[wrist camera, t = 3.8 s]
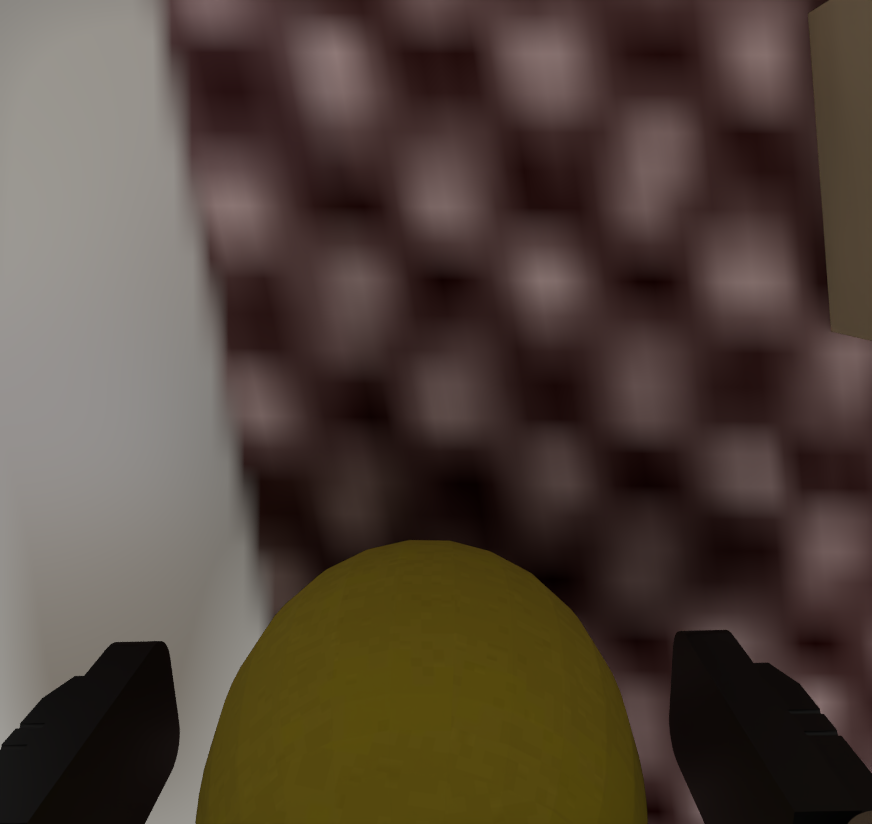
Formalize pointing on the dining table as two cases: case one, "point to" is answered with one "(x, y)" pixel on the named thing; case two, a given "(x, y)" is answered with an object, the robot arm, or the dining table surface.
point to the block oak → (845, 156)
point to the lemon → (424, 703)
